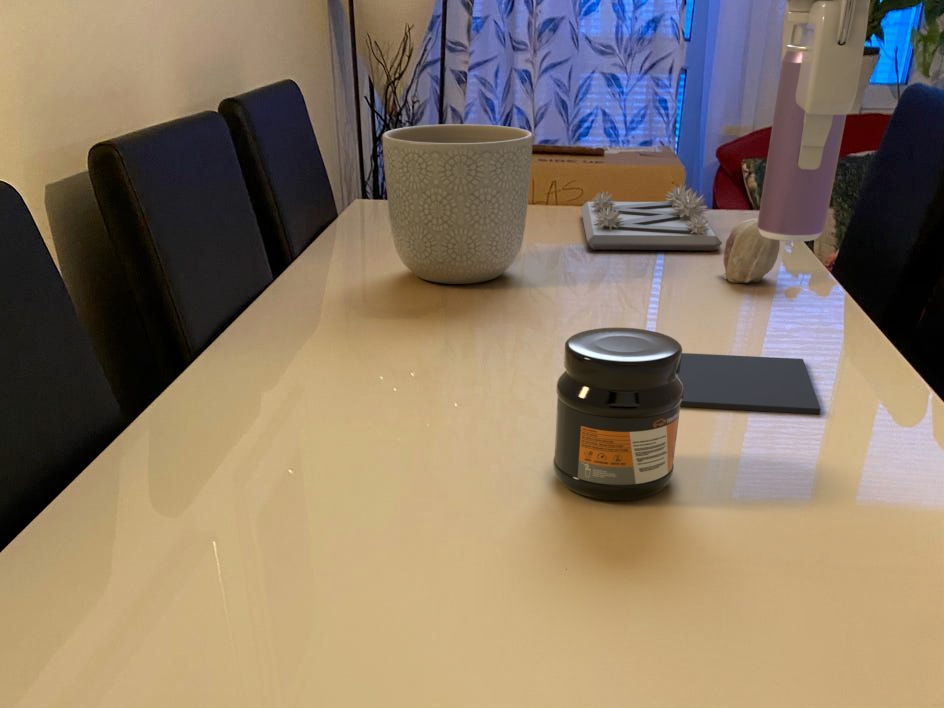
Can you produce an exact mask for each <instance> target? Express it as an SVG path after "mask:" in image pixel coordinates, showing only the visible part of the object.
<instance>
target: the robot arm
mask: <svg viewBox="0 0 944 708" xmlns="http://www.w3.org/2000/svg"><path fill="white" fill-rule="evenodd" d="M870 5H871V0H786V2H785V8H784V16H783V26H782V27H783V30H782V42H781V53H780V55H781V56H780V57H781V58H780V67H781V66H782V60H783V58H784V56H785V54H786V51H787V45H789V44H800V46H802V47H807V50H806V51H803V53H802V60H801V67H800V72H799V78H798V84H797V89H796V103H797V104H798V105H799V106H800V107H801V108H802V109H803V110H804V111H805V116H804V127H803V134H802V140H801V144H800V146H799V152H798V158H797V164H798V166H799V167H800V168H801V169H809V170H815V169H817V168H819V166H820V164H821V159H822V153H823V148H824V145H825V142H826V139H827V137H828V134H829V131H830V128H831V125H832V120H833V115H844V114H846V115H848V114H849V113H851V111H852V109H853V107H854V104H855V101H856V97H857V93H858V88H859V81H860V75H861V69H862V63H863V57H864V50H865V43H866V39H867V32H868V31H867V30H868V23H869V10H870Z"/></svg>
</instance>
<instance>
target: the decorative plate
mask: <svg viewBox="0 0 944 708" xmlns="http://www.w3.org/2000/svg"><path fill="white" fill-rule="evenodd" d="M682 184H683V183H682V182H681V183H680V186H679V187H677V186H676V185H674V186H672V187H670V189H671V191H672V192H671V191H668V192H666V194H663V195H664V196H665V197H666V198H665V201H615V200H612V199H614V196H613V193H611V194H610V195H608V194H609V193H608V192H609V191H608V190H607V191H606V193H605V190H603V192H602V193H601V192H600V191H598V192H597V193H595V195H596V196H594V197H592V198H591V201H586V202H585V203H584V204H583V205H582V206H581V207H580V210H581V215H582V217H581V218H582V222H583V228H584V233H585V240H586V243H587V245H588V246H589V247H590V248H591V249H592V250H602V251H603V250H605V251H606V250H607V251H608V250H611V251H612V250H615V251H616V250H617V251H624V250H625V251H626V250H627V251H715V250H717V249H718V248H719V247H720V246H721V245H722V243H723V242H722V240H721V239H720V238H719V236H718V234H717V233H716V232H715V230H714V228H713V227H712V225H711V224H710V223H709V219H708V217H705V215H706V213H705V212H708V211H710V210H709V209H707V208H708V206H707V205H702V204H703V203H704V202H705V200H707V199H706V198H705V197H703V196H704V194H702V195H701V196H697V192H698V190H696V191H695V192H694V190H693V189H692V188H689V189H687V184H685V185H684V186H683V185H682Z"/></svg>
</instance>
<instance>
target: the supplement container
mask: <svg viewBox="0 0 944 708" xmlns="http://www.w3.org/2000/svg"><path fill="white" fill-rule="evenodd" d="M682 353H683V346H682V345H681V344H680V342H679V341H677V339H675V338H673V337H672V336H669V335H668V334H664V333H661V332H657V331H653V330H649V329H643V328H634V327H600V328H594V329H587V330H584V331H583V330H582V331H580V332H577V333H575V334H573V335H571V336H570V337H569V338H568V339H567V340H566V341H565V342H564V352H563V367H564V369H565V370H564V371H563V372H562V373H561V375H560V376H559V377H558V379H557V381H556V388H555V389H556V395H557V398H556V399H557V400H556V402H557V403H556V419H555V420H556V421H555V436H554V437H555V439H554V440H555V441H554V456H553V460H552V461H553V462H552V465H553V466H552V467H553V472H554V475H555V477H556V478H557V480H558V481H559V482H560V483H561V485H563V486H565V487H566V488H567V489H569V490H571V491H572V492H575V493H576V494H578V495H582V496H585V497H588V498H593V499H597V500H603V501H605V500H606V501H631V500H632V501H633V500H638V499H642V498H646V497H649V496H651V495H655V494H656V493H658V492H660V491H661V490H663V489H664V488H665V487H666V486H668V484H669V482H670V481H671V479H672V477H673V475H674V470H675V465H674V462H675V461H674V460H675V454H676V453H675V452H676V445H677V438H678V437H677V435H678V427H679V421H680V420H679V419H680V412H681V407H680V405H681V401H682V399H683V394H684V388H683V384H682V382H681V381H680V379H679V378H678V373H679V371H680V366H681V358H682Z"/></svg>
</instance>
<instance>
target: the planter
mask: <svg viewBox="0 0 944 708" xmlns="http://www.w3.org/2000/svg"><path fill="white" fill-rule="evenodd" d="M533 137H534V136H533V133H532V132H531V131H530V130H527V129H523V128H519V127H514V126H506V125H505V126H504V125H493V124H473V123H471V124H470V123H468V124H467V123H452V124H450V123H449V124H448V123H447V124H427V125H414V126H413V125H412V126H405V127H400V128H394V129H391V130H387V131H385V132H384V133H383V134H382V154H383V156H382V157H383V167H384V178H385V188H386V196H387V206H388V214H389V221H390V228H391V234H392V240H393V244H394V248H395V251H396V254H397V256H398V258H399V259H400V261H401V262H402V264H403V265H404V266H405V267H406V268H407V269H408V270H409V271H410V272H411V273H413V274H414V275H416V276H417V277H419V278H421V279H423V280H426V281H428V282H433V283H439V284H445V285H446V284H449V285H468V284H469V285H470V284H477V283H483V282H488V281H490V280H493V279H496V278H497V277H499V276H501V275H502V274H503V273H505V272H506V271H507V270H508V269H509V268H510V267H511V266H512V265H514V262H515V261H516V259H517V258H518V256H519V254H520V252H521V249H522V246H523V240H524V236H525V229H526V221H527V214H528V204H529V196H530V195H529V194H530V185H531V173H532V162H533V160H532V159H533Z"/></svg>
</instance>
